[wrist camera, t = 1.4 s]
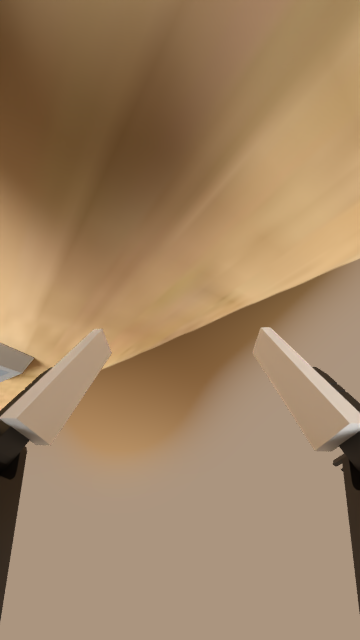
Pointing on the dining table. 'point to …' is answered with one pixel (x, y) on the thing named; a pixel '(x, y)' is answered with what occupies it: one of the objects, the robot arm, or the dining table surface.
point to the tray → (12, 362)
